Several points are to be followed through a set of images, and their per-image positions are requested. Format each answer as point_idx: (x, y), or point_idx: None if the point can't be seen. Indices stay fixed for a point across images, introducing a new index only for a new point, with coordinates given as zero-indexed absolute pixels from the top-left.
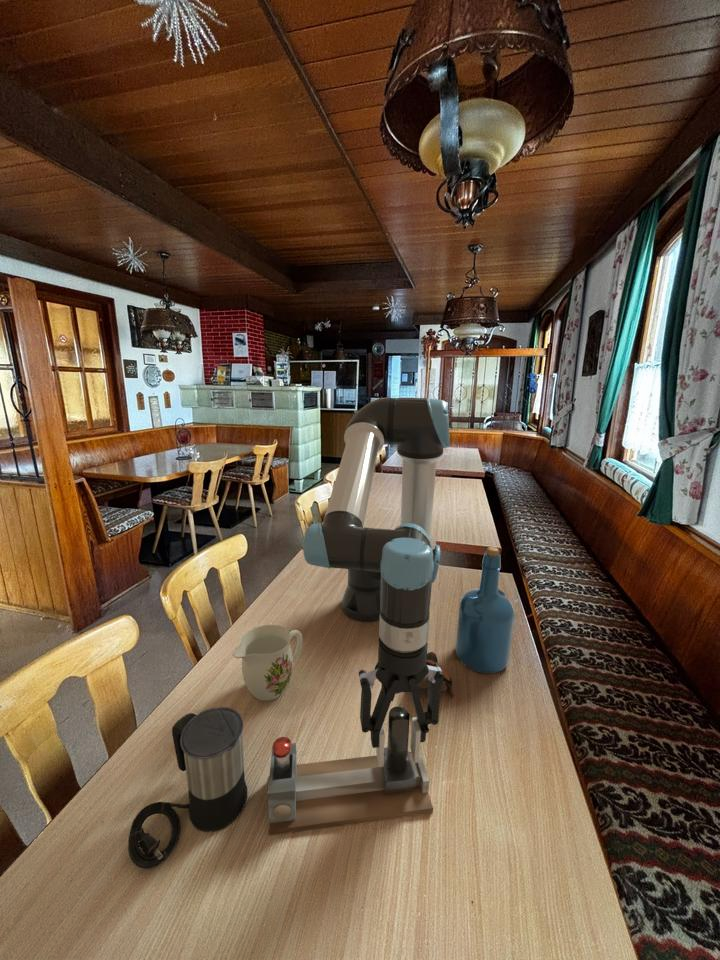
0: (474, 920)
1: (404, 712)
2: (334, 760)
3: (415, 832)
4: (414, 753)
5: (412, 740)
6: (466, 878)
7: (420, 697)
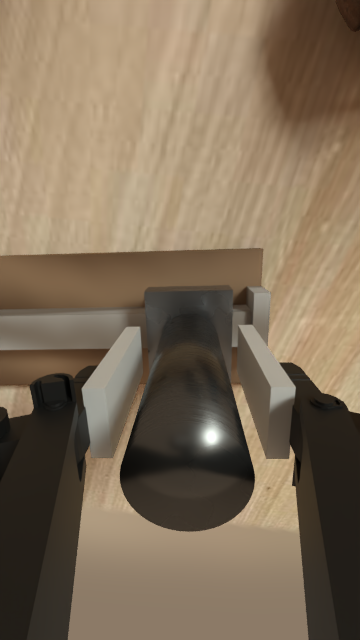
0: (262, 503)
1: (225, 468)
2: (40, 255)
3: None
4: (242, 380)
5: (247, 364)
6: (272, 466)
7: (357, 28)
